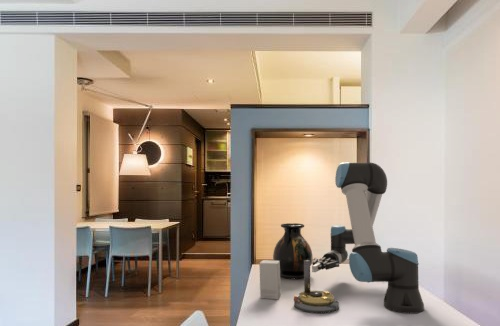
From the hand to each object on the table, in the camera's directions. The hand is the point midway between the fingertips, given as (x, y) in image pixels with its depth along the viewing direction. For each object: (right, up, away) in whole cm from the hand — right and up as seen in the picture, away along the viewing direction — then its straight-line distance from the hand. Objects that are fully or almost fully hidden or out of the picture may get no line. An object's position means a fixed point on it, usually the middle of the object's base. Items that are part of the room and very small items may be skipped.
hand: (313, 269), depth 165 cm
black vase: (-5, -15, +37) cm, 40 cm away
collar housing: (-1, -12, -12) cm, 17 cm away
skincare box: (-19, -13, 0) cm, 23 cm away
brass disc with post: (-1, -9, -12) cm, 15 cm away
